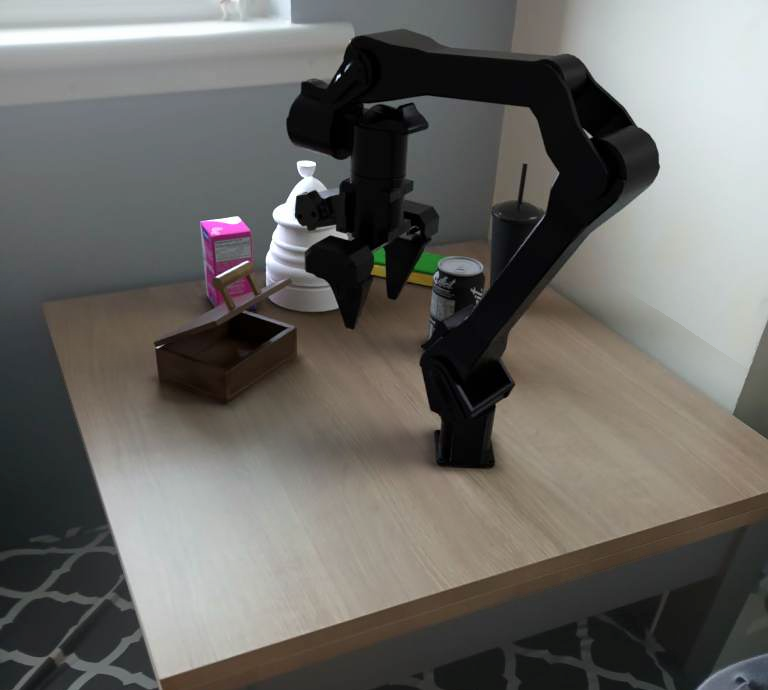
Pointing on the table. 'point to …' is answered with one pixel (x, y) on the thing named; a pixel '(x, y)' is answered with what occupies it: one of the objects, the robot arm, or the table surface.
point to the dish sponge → (419, 274)
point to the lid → (226, 302)
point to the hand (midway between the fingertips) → (371, 313)
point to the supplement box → (225, 254)
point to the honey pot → (298, 253)
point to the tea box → (228, 356)
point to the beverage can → (455, 288)
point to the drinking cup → (511, 228)
